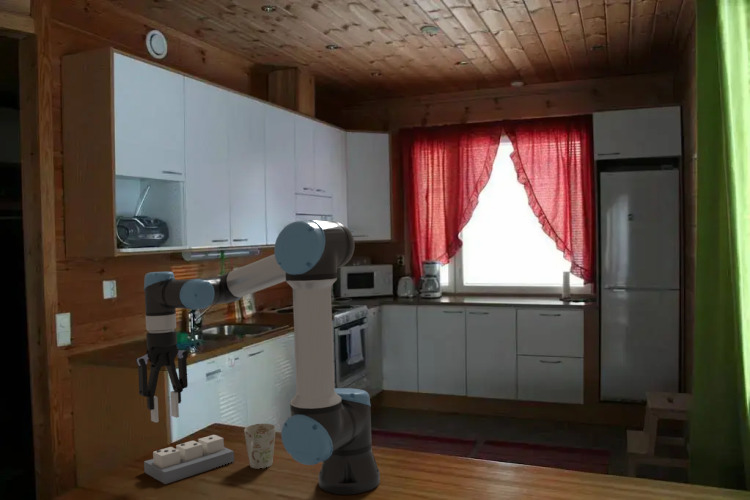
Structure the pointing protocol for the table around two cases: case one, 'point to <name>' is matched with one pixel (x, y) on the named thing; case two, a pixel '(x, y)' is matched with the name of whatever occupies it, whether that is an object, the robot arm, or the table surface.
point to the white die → (190, 450)
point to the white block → (211, 444)
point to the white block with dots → (166, 457)
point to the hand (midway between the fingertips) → (165, 418)
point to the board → (189, 466)
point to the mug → (260, 444)
